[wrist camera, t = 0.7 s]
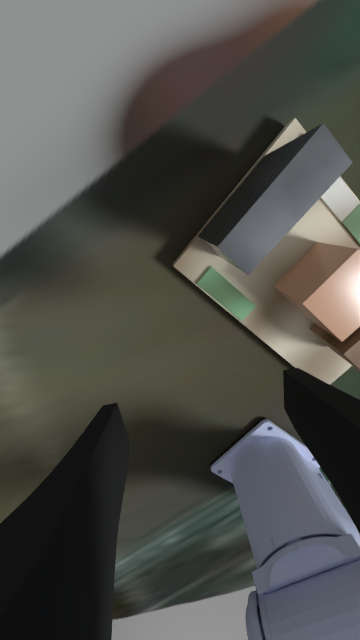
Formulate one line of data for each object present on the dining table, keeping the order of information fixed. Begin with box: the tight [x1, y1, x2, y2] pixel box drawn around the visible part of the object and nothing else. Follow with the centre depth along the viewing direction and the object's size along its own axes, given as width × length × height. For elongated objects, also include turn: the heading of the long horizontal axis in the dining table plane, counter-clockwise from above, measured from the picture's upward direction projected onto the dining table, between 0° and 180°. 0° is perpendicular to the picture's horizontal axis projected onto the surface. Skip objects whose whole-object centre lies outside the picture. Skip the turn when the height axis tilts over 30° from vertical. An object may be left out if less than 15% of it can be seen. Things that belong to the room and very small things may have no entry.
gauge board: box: [173, 118, 360, 385], centre depth 19 cm, size 17×11×1 cm, turn 49°
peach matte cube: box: [274, 242, 360, 342], centre depth 17 cm, size 4×4×4 cm
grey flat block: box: [198, 123, 353, 275], centre depth 14 cm, size 2×6×7 cm, turn 139°
